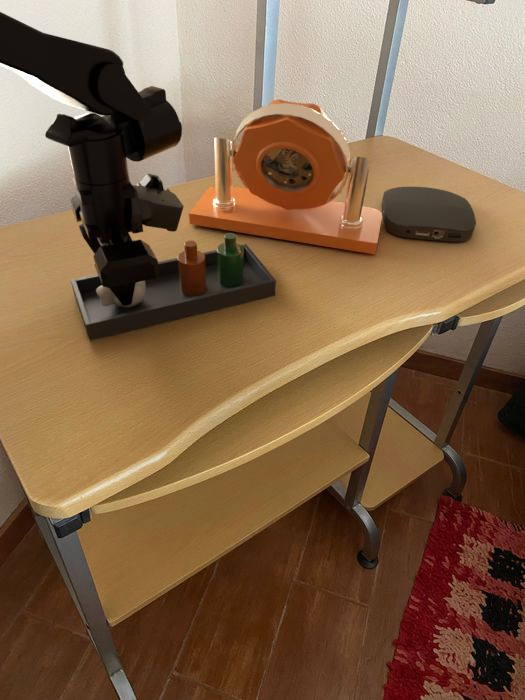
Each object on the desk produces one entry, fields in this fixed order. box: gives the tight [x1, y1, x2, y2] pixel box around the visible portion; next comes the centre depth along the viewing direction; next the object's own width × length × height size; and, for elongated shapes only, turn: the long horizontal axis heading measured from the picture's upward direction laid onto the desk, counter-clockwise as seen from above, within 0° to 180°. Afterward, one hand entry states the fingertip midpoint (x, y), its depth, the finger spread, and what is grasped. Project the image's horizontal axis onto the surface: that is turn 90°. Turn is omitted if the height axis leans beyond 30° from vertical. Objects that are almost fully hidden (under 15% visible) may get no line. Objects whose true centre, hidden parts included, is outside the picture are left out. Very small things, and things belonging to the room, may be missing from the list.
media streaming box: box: [381, 186, 477, 243], centre depth 89 cm, size 15×15×3 cm
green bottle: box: [216, 232, 244, 287], centre depth 72 cm, size 4×4×7 cm
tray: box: [70, 243, 277, 342], centre depth 71 cm, size 25×10×2 cm, turn 115°
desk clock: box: [188, 98, 383, 255], centre depth 80 cm, size 12×30×20 cm, turn 76°
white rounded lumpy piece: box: [96, 281, 146, 308], centre depth 66 cm, size 5×7×8 cm
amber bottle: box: [177, 240, 206, 296], centre depth 70 cm, size 4×4×7 cm
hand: (121, 291), depth 67 cm, fingers closed on white rounded lumpy piece, 5 cm apart
